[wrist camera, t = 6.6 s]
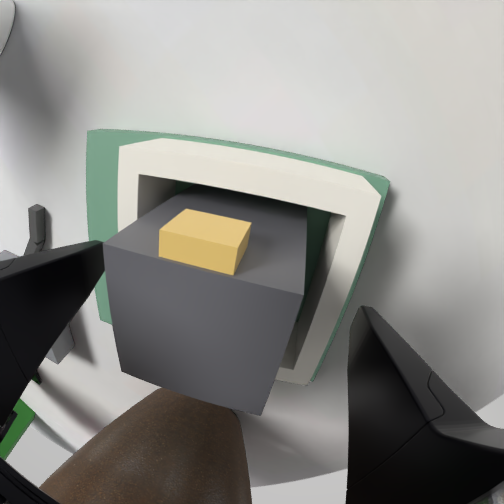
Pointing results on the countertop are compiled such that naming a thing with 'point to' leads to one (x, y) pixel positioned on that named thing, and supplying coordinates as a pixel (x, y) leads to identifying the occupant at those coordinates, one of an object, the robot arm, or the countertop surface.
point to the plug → (208, 293)
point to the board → (253, 182)
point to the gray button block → (34, 246)
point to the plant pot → (159, 457)
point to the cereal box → (16, 428)
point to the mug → (6, 21)
